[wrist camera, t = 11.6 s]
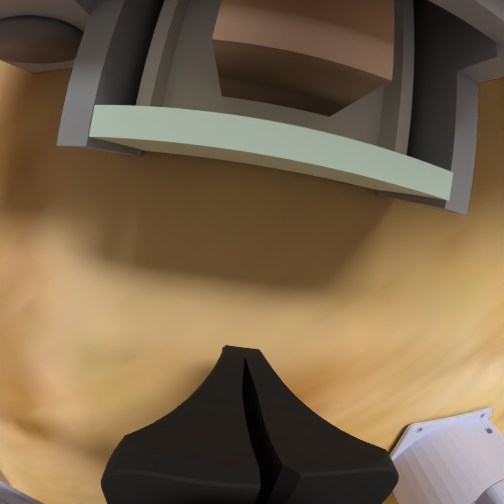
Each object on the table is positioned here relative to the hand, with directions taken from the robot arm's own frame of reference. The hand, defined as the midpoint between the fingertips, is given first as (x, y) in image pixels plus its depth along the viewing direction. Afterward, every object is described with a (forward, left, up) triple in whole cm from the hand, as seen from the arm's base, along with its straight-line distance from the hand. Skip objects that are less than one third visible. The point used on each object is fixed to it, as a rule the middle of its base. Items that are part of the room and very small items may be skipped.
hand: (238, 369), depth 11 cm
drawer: (0, -12, -3) cm, 12 cm away
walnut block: (0, -12, -2) cm, 12 cm away
